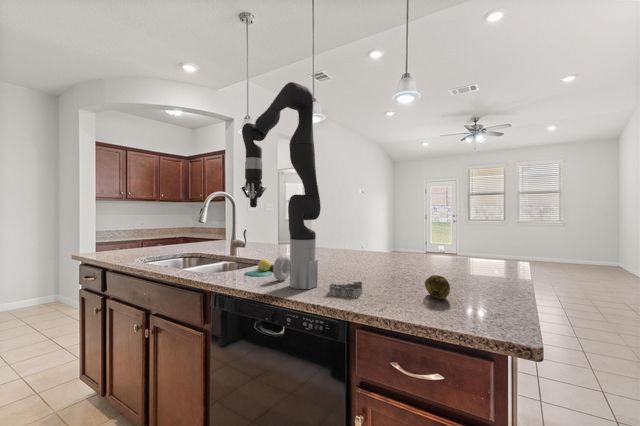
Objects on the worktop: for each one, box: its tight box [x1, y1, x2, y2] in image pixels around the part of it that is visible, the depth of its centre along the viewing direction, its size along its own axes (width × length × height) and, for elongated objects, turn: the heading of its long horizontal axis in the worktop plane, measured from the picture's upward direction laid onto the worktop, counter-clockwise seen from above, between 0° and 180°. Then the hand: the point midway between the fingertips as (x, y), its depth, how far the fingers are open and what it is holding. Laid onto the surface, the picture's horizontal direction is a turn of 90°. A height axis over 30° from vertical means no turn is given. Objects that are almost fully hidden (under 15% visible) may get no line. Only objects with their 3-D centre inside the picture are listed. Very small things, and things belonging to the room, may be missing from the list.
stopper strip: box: [257, 264, 274, 272], centre depth 142 cm, size 14×2×2 cm, turn 61°
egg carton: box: [328, 281, 363, 298], centre depth 102 cm, size 11×8×4 cm
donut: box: [272, 254, 290, 282], centre depth 121 cm, size 10×4×10 cm, turn 155°
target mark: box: [243, 270, 273, 277], centre depth 134 cm, size 12×12×1 cm
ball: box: [257, 258, 272, 271], centre depth 139 cm, size 6×6×6 cm
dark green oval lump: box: [424, 274, 451, 300], centre depth 97 cm, size 8×13×8 cm, turn 149°
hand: (253, 207), depth 138 cm, fingers closed
